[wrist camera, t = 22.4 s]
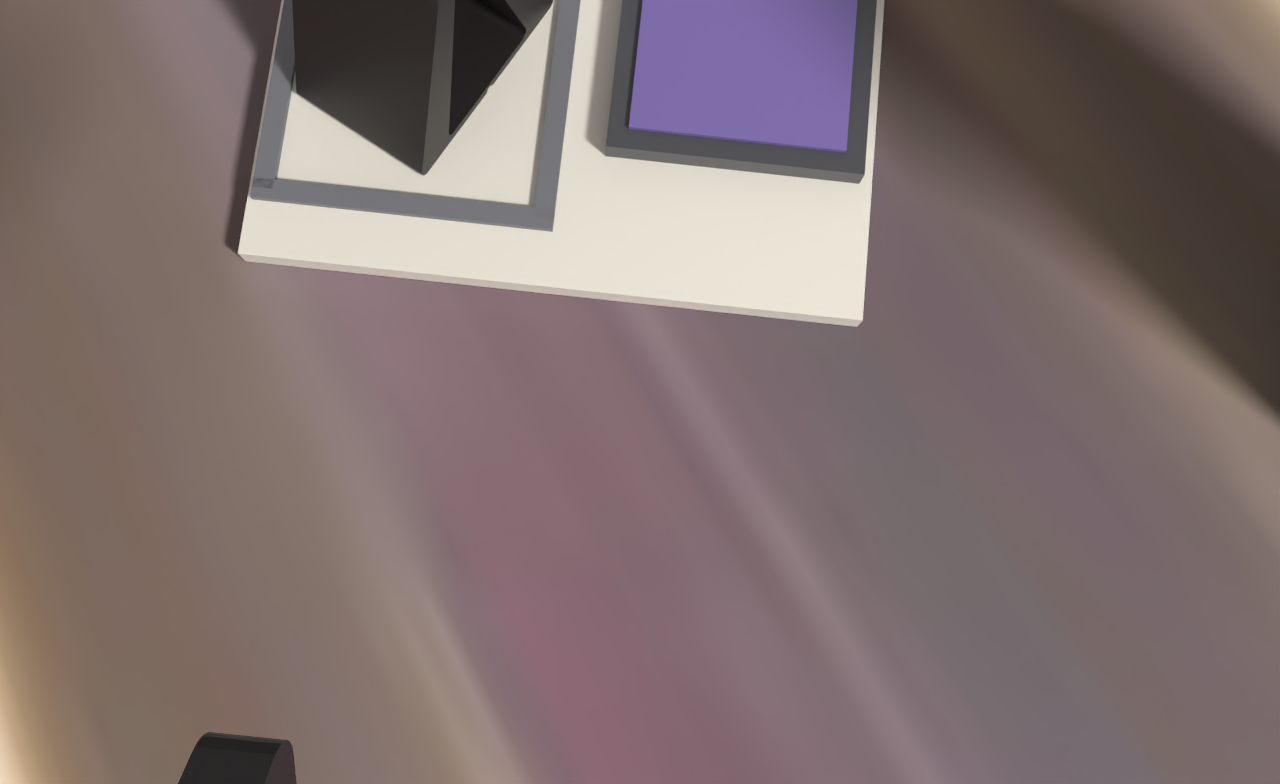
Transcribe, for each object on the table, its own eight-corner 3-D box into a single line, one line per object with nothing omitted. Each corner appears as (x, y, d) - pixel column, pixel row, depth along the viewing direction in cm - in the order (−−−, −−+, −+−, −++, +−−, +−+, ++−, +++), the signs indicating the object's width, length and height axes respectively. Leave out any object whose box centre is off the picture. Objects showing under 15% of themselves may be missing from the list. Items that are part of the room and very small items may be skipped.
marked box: (593, -108, 49) (593, -113, 49) (552, 231, 46) (552, 229, 46) (310, -140, 49) (308, -145, 49) (252, 199, 46) (249, 196, 46)
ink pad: (878, -92, 49) (885, -109, 48) (859, 183, 47) (865, 172, 46) (636, -119, 49) (637, -137, 48) (605, 156, 47) (605, 144, 46)
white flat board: (887, -109, 51) (892, -123, 50) (856, 326, 47) (862, 320, 46) (319, -173, 50) (314, -188, 49) (245, 261, 47) (237, 253, 46)
